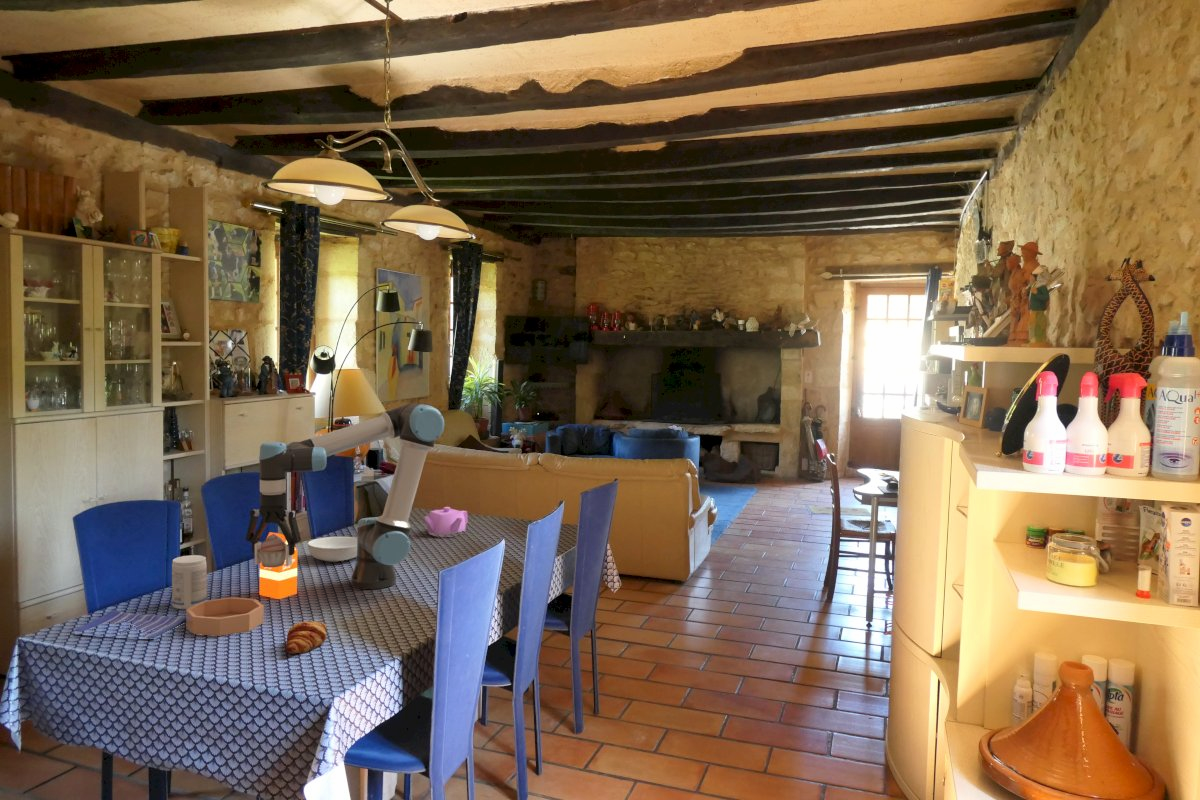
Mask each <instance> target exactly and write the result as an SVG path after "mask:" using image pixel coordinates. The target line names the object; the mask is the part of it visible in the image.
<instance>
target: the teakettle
mask: <svg viewBox="0 0 1200 800" xmlns="http://www.w3.org/2000/svg"><path fill="white" fill-rule="evenodd" d="M468 517H469V516H468V511H467V510H458V509H455V508H454V509H453V508H451V507H450V506H445V507H443V508H442V509H434V510H430V512H429V515H426V516H423V520H424V521H425V523H426V526H427V527H426V532H427V531H428V532H431V533H434V534H437V535H445V534H452V533H457V532H462V531H465V532H466V525H467V524H469V520H468ZM428 532H427V533H428Z"/></svg>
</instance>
